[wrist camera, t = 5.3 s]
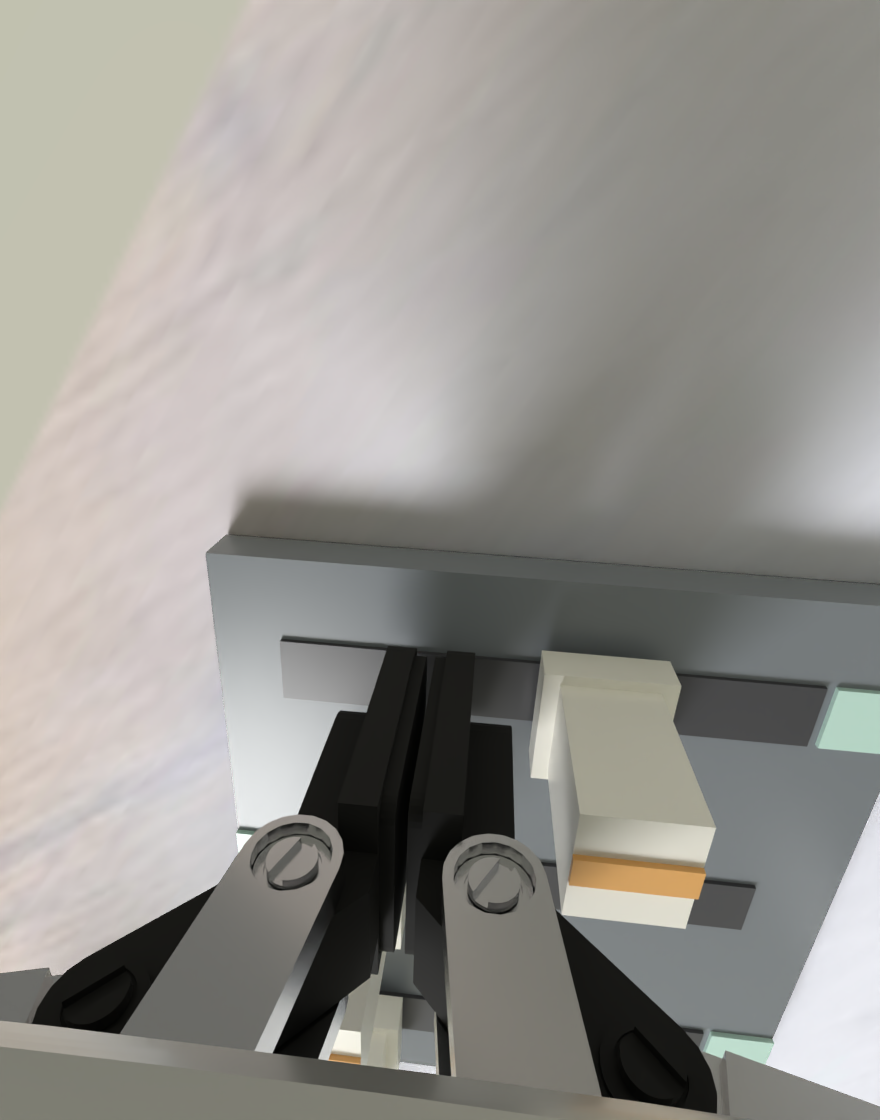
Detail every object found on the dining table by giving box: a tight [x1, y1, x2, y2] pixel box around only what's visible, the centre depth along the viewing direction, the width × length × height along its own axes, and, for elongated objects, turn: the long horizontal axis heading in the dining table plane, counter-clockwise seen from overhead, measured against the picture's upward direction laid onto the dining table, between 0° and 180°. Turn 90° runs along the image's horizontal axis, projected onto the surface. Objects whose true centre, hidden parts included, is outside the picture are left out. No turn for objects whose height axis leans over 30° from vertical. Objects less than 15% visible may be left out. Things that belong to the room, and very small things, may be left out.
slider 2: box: [367, 994, 403, 1070], centre depth 15 cm, size 2×2×4 cm
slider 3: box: [529, 650, 716, 929], centre depth 10 cm, size 2×2×4 cm
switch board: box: [206, 535, 880, 1066], centre depth 15 cm, size 14×16×1 cm
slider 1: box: [328, 886, 406, 1065], centre depth 13 cm, size 2×2×4 cm
